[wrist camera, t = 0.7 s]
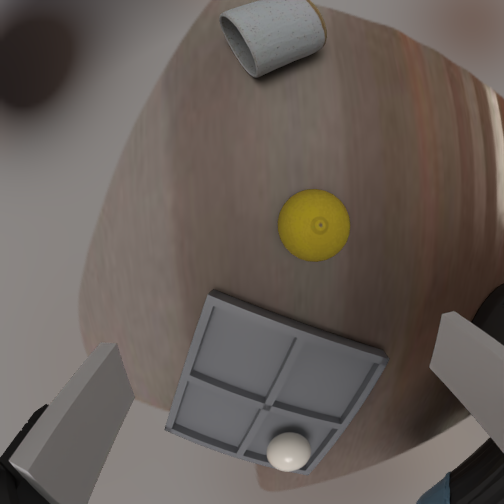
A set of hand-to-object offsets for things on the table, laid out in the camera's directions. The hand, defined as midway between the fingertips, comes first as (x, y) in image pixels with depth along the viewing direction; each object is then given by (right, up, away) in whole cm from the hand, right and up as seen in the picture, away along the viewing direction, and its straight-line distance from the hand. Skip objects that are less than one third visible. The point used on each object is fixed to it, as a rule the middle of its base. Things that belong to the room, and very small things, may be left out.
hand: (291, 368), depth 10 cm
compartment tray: (0, -11, +18) cm, 21 cm away
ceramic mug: (0, +26, +14) cm, 30 cm away
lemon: (+4, +7, +16) cm, 18 cm away
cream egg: (+3, -17, +17) cm, 24 cm away
